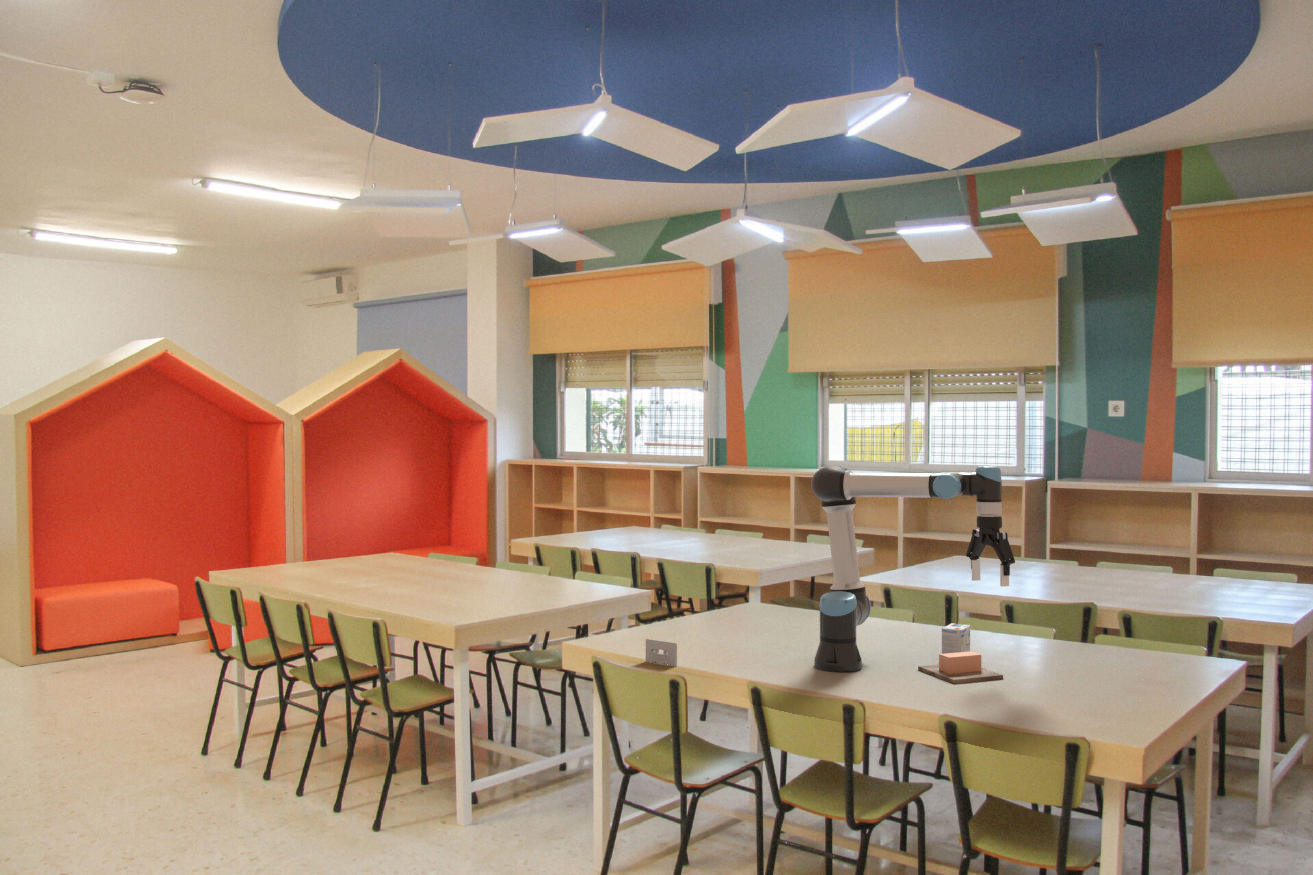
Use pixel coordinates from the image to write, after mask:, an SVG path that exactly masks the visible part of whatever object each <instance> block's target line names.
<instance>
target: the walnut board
mask: <svg viewBox="0 0 1313 875" xmlns="http://www.w3.org/2000/svg"><path fill="white" fill-rule="evenodd" d="M917 670H918V671H920V672H922V671H923V673H925V674H927V673H928V674H927V675H930V676H932V675H933V677H935V678H938V679H940V680H943V681H945V680H946V682H948V683H951V684H955V685H956V684H963V683H964V684H965V683H966V682H967V683H977V682H984V681H985V682H986V681H996V680H1003V679H1004V674H1002V673H999V672H997V671H992V670H991V669H987V668H985V667H982V666H981V671H974V672H963V673H952V674H948V673H946V672H943V671H940V670H939V663H937V664H930V665H929V664H928V665H918V666H917Z"/></svg>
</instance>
